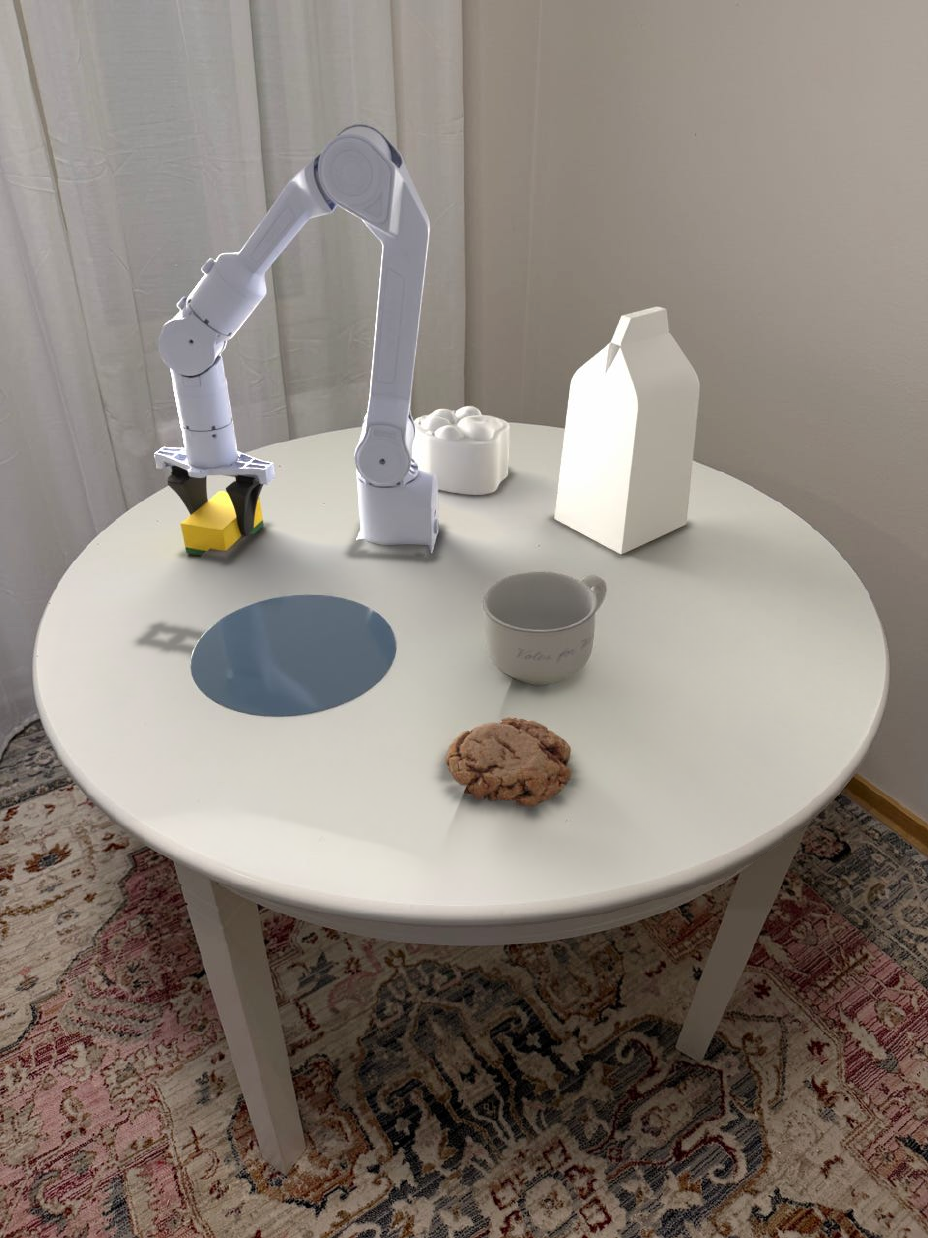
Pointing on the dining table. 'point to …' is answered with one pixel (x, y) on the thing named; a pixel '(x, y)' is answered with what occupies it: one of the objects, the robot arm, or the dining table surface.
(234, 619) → the plate
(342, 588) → the dining table surface
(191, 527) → the sponge
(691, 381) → the milk
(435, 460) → the lumpy-topped squat cylinder
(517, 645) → the teacup
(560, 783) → the cookie
